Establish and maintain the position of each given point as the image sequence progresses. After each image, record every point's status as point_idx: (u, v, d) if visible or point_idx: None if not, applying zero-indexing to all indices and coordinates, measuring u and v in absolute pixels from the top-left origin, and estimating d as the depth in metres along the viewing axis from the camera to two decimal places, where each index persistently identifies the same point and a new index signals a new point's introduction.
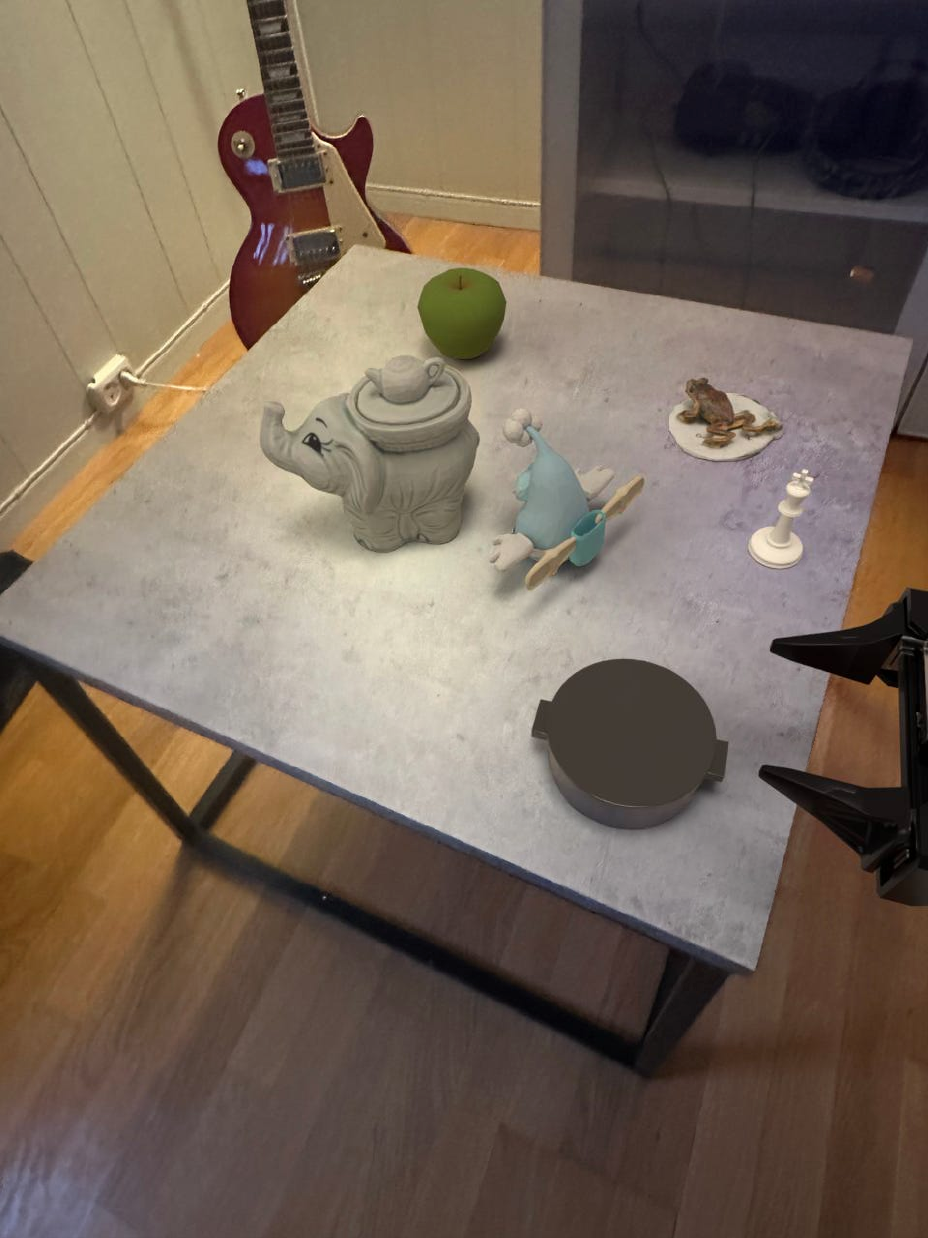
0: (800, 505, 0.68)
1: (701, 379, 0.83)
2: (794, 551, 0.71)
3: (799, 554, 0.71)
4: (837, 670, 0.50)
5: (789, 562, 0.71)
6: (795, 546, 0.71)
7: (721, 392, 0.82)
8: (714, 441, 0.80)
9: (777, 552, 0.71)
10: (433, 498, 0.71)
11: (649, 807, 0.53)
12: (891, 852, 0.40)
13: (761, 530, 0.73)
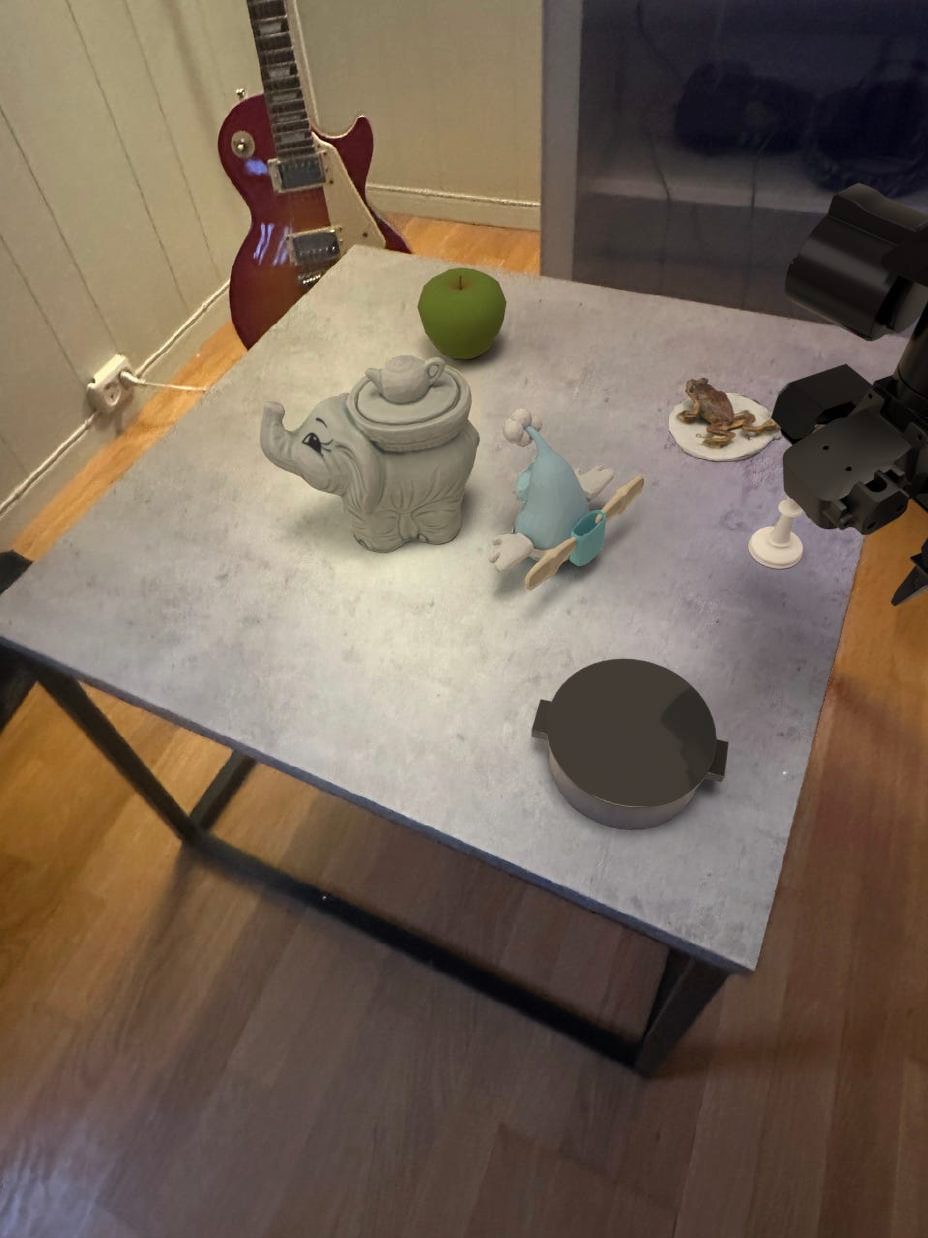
0: None
1: (701, 379, 0.83)
2: (794, 551, 0.71)
3: (799, 554, 0.71)
4: None
5: (789, 562, 0.71)
6: (795, 546, 0.71)
7: (721, 392, 0.82)
8: (714, 441, 0.80)
9: (777, 552, 0.71)
10: (433, 498, 0.71)
11: (649, 807, 0.53)
12: None
13: (761, 530, 0.73)
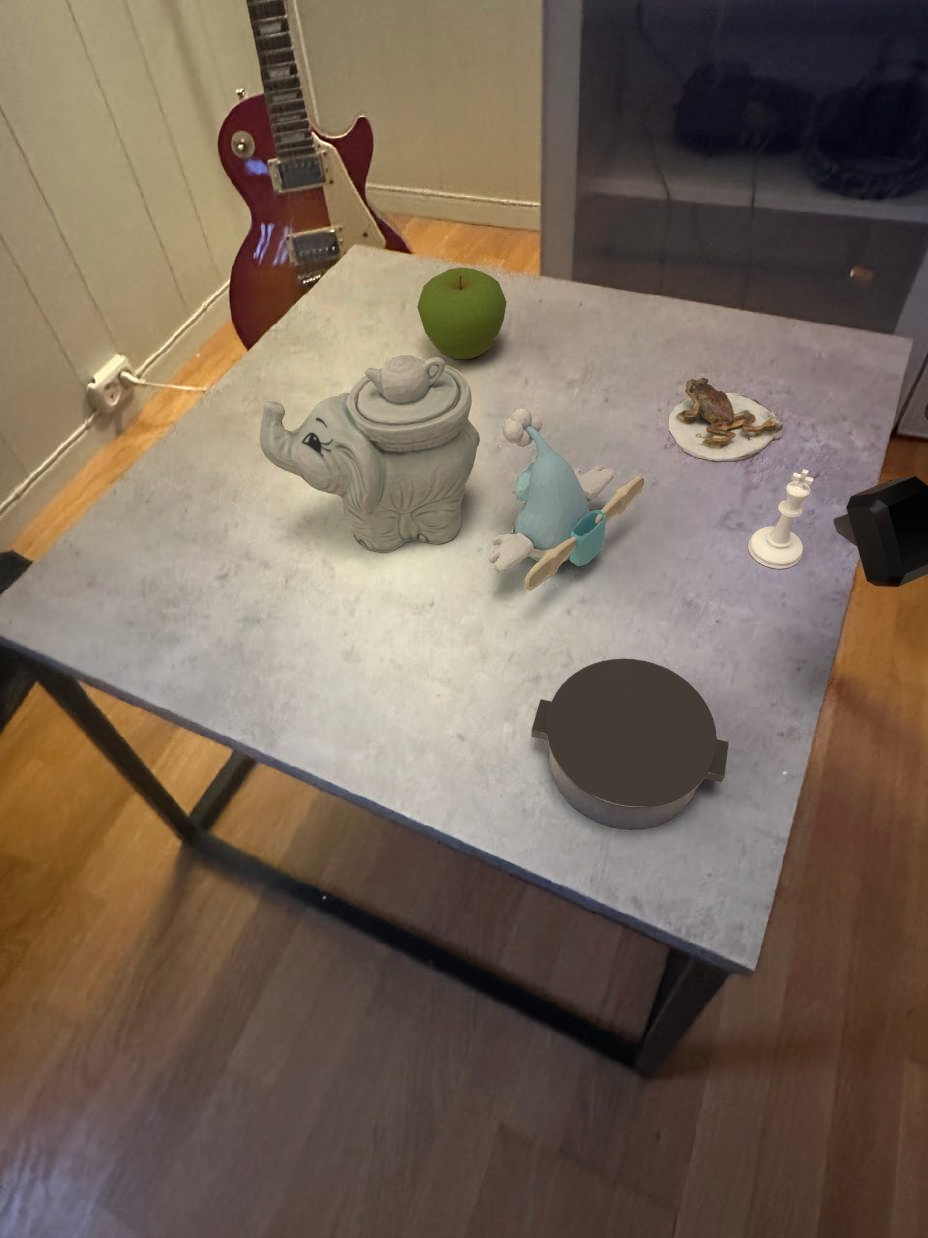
0: (800, 505, 0.68)
1: (701, 379, 0.83)
2: (794, 551, 0.71)
3: (799, 554, 0.71)
4: None
5: (789, 562, 0.71)
6: (795, 546, 0.71)
7: (721, 392, 0.82)
8: (714, 441, 0.80)
9: (777, 552, 0.71)
10: (433, 498, 0.71)
11: (649, 807, 0.53)
12: None
13: (761, 530, 0.73)
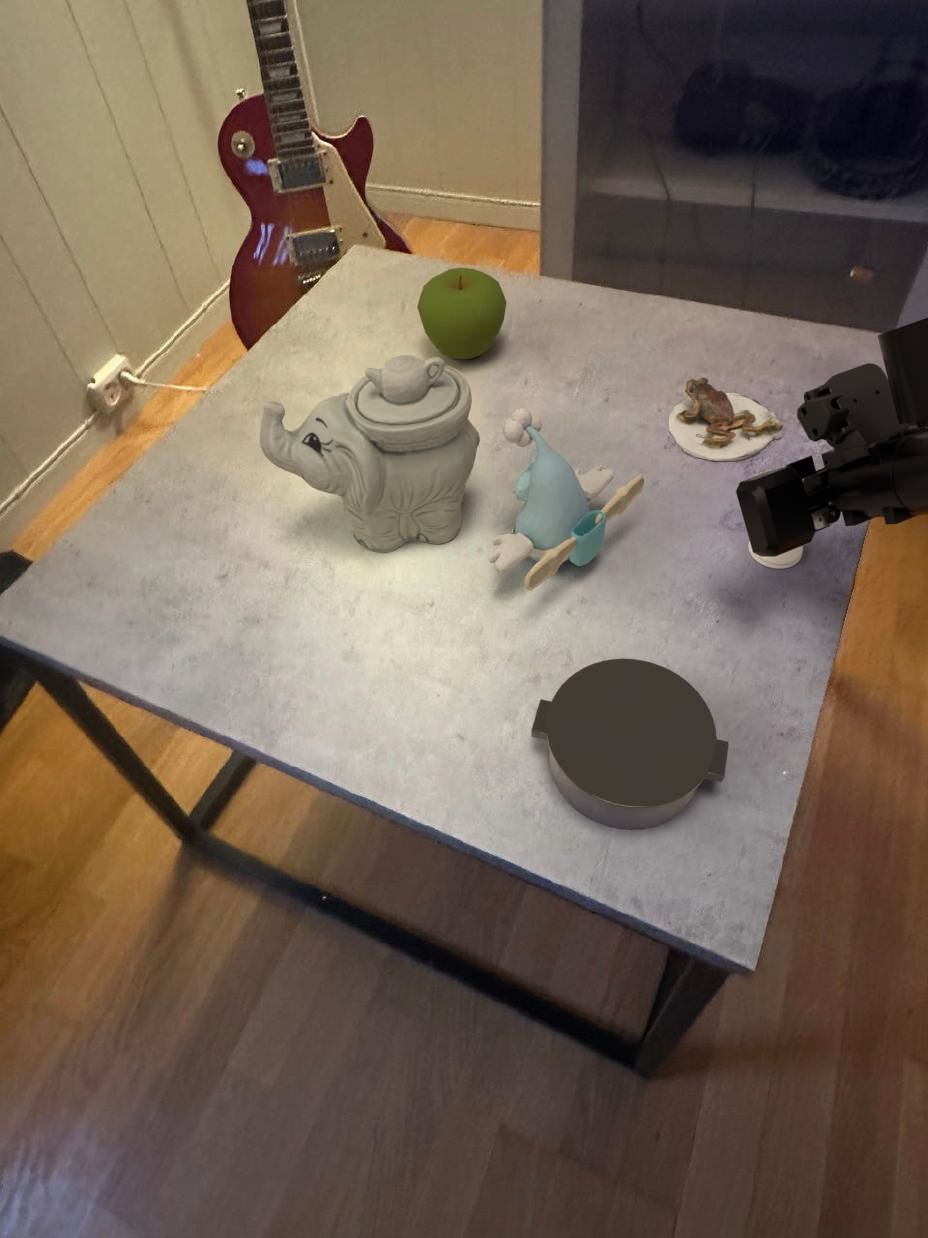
0: None
1: (701, 379, 0.83)
2: (794, 551, 0.71)
3: (799, 554, 0.71)
4: None
5: (789, 562, 0.71)
6: None
7: (721, 392, 0.82)
8: (714, 441, 0.80)
9: None
10: (433, 498, 0.71)
11: (649, 807, 0.53)
12: None
13: None
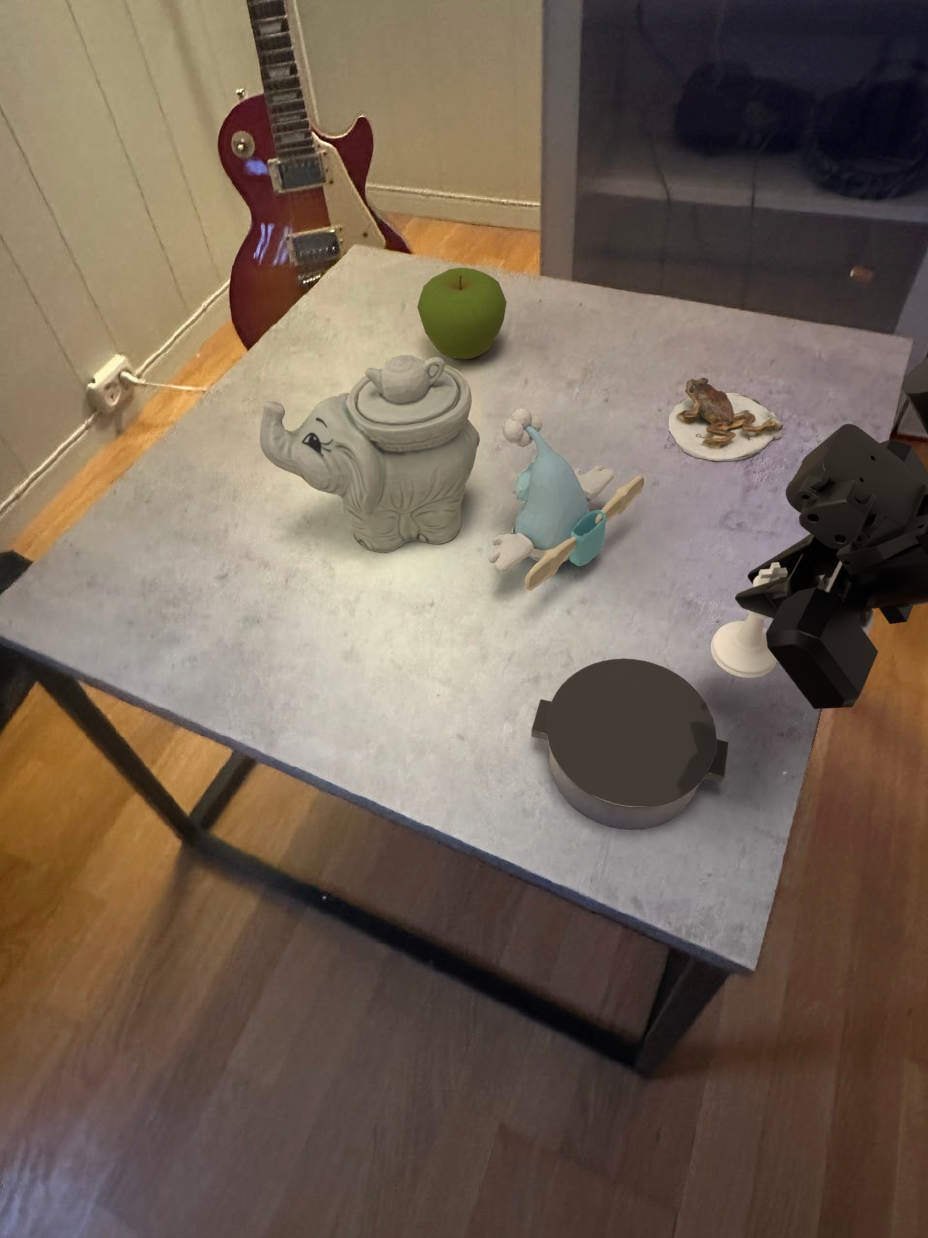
0: None
1: (701, 379, 0.83)
2: None
3: None
4: None
5: (774, 662, 0.56)
6: None
7: (721, 392, 0.82)
8: (714, 441, 0.80)
9: (757, 656, 0.56)
10: (433, 498, 0.71)
11: (649, 807, 0.53)
12: None
13: (719, 636, 0.58)
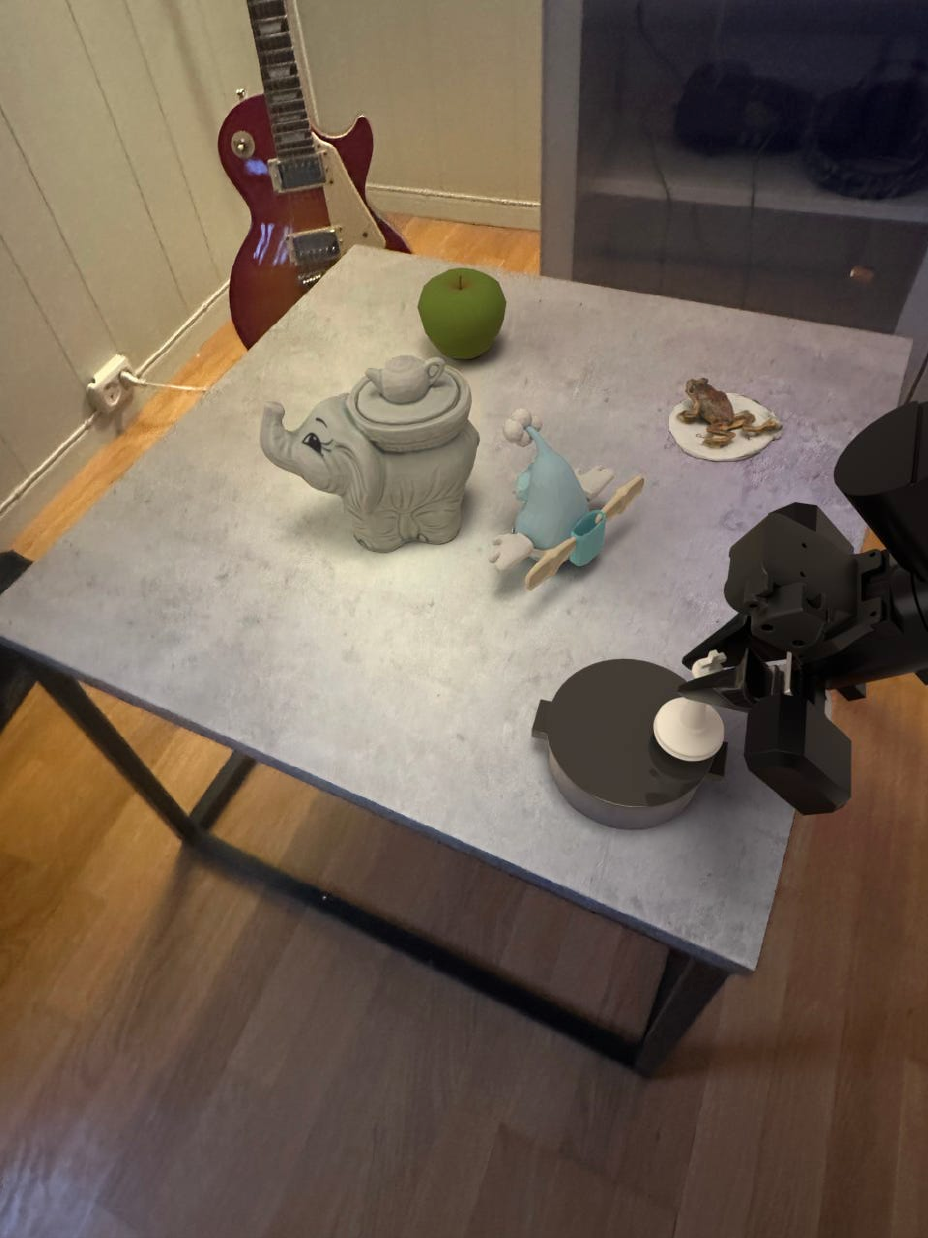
0: None
1: (701, 379, 0.83)
2: (715, 720, 0.54)
3: (720, 719, 0.54)
4: (761, 657, 0.48)
5: (722, 737, 0.54)
6: (709, 713, 0.54)
7: (721, 392, 0.82)
8: (714, 441, 0.80)
9: (705, 736, 0.53)
10: (433, 498, 0.71)
11: (649, 807, 0.53)
12: None
13: (661, 722, 0.54)
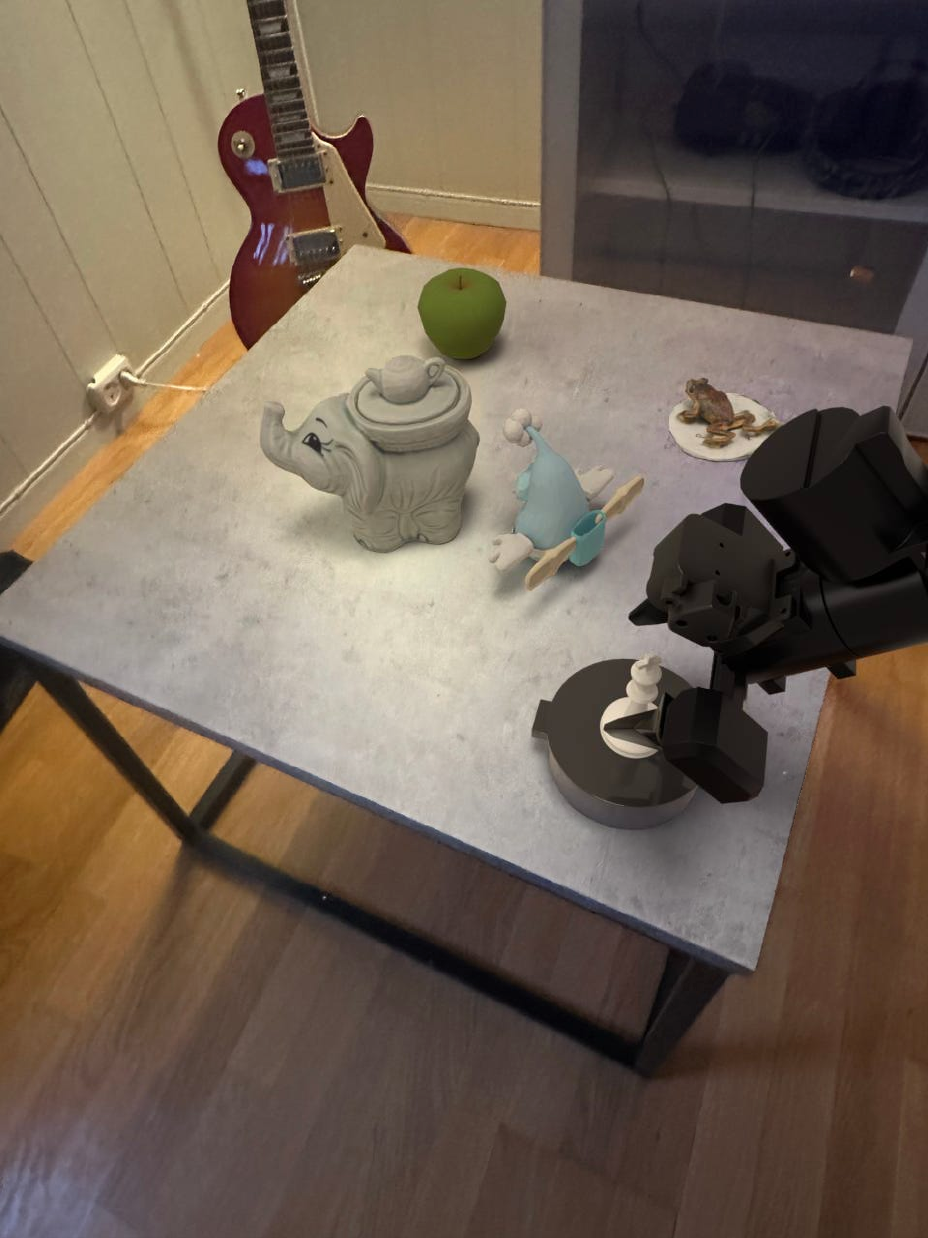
0: None
1: (701, 379, 0.83)
2: None
3: None
4: None
5: None
6: None
7: (721, 392, 0.82)
8: (714, 441, 0.80)
9: None
10: (433, 498, 0.71)
11: (649, 807, 0.53)
12: None
13: (606, 720, 0.56)
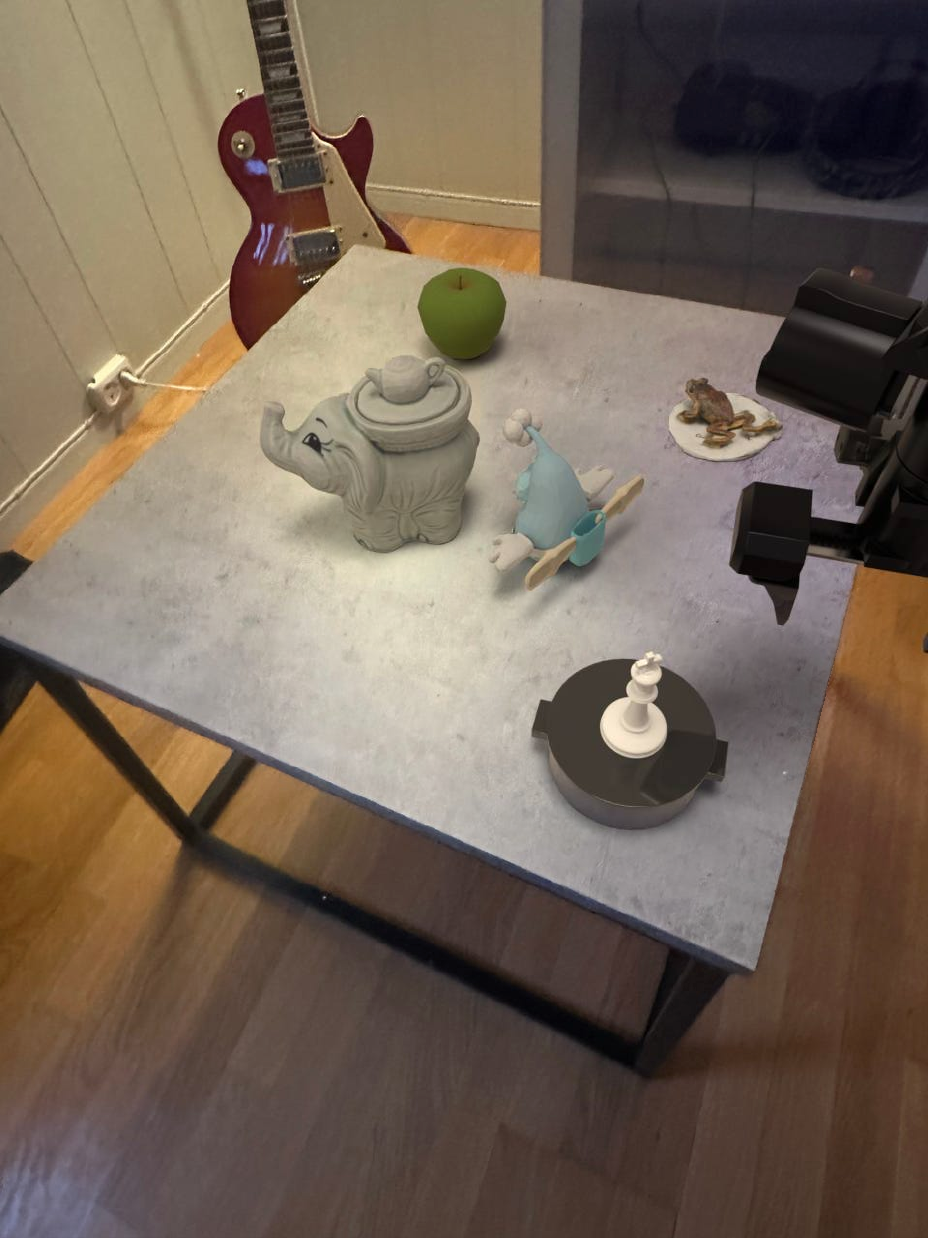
0: None
1: (701, 379, 0.83)
2: (659, 719, 0.56)
3: (663, 718, 0.56)
4: None
5: (665, 735, 0.56)
6: (653, 712, 0.56)
7: (721, 392, 0.82)
8: (714, 441, 0.80)
9: (648, 734, 0.55)
10: (433, 498, 0.71)
11: (649, 807, 0.53)
12: None
13: (606, 720, 0.56)
